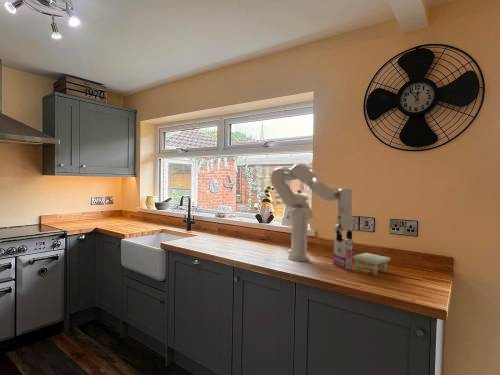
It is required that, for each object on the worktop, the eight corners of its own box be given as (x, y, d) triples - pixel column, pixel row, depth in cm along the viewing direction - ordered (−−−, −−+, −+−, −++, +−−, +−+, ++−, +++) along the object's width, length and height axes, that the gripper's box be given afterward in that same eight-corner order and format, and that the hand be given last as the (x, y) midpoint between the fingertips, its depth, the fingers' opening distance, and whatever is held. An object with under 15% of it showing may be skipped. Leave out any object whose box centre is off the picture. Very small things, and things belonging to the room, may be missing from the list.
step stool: (352, 270, 163) (352, 255, 163) (365, 266, 172) (366, 252, 172) (376, 276, 152) (377, 261, 152) (389, 272, 161) (390, 257, 161)
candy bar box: (352, 269, 165) (353, 239, 165) (345, 270, 163) (346, 240, 163) (339, 264, 175) (340, 236, 175) (332, 264, 174) (333, 236, 173)
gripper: (341, 211, 160) (341, 242, 160) (359, 210, 171) (358, 239, 171) (330, 210, 166) (329, 240, 166) (347, 209, 177) (347, 237, 177)
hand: (344, 240), depth 169 cm, fingers open, 9 cm apart
